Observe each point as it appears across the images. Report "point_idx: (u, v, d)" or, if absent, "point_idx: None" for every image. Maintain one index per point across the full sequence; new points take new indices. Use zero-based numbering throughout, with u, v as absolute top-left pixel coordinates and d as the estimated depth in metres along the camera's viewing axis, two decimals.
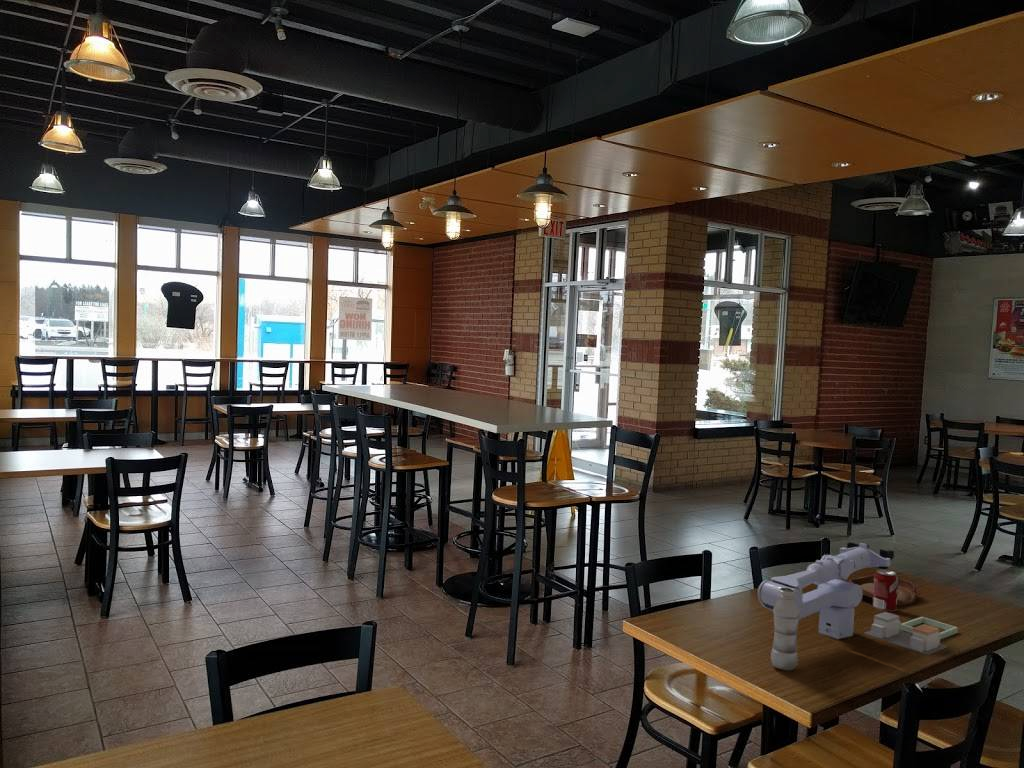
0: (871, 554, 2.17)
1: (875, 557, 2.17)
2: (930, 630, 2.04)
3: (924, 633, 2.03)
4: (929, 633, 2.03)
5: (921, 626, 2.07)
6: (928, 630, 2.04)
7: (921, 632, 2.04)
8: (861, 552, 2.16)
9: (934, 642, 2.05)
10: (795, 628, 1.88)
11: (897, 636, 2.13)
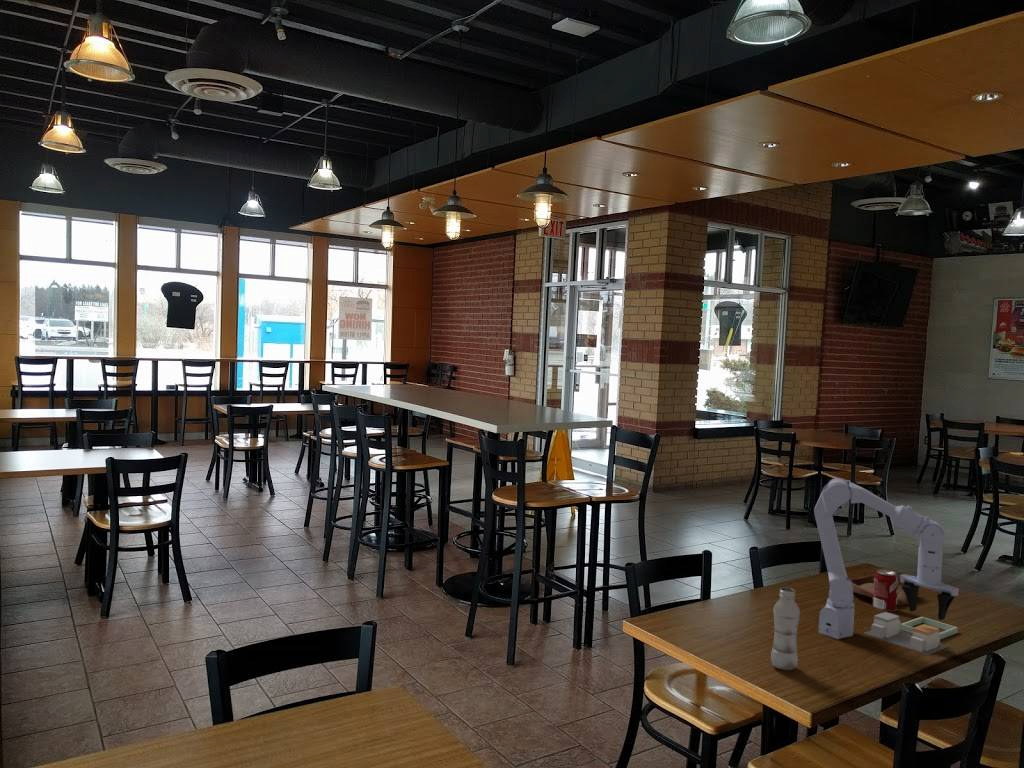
0: (941, 583, 2.04)
1: (943, 586, 2.03)
2: (930, 630, 2.04)
3: (924, 633, 2.03)
4: (929, 633, 2.03)
5: (921, 626, 2.07)
6: (928, 630, 2.04)
7: (921, 632, 2.04)
8: None
9: (934, 642, 2.05)
10: (795, 628, 1.88)
11: (897, 636, 2.13)
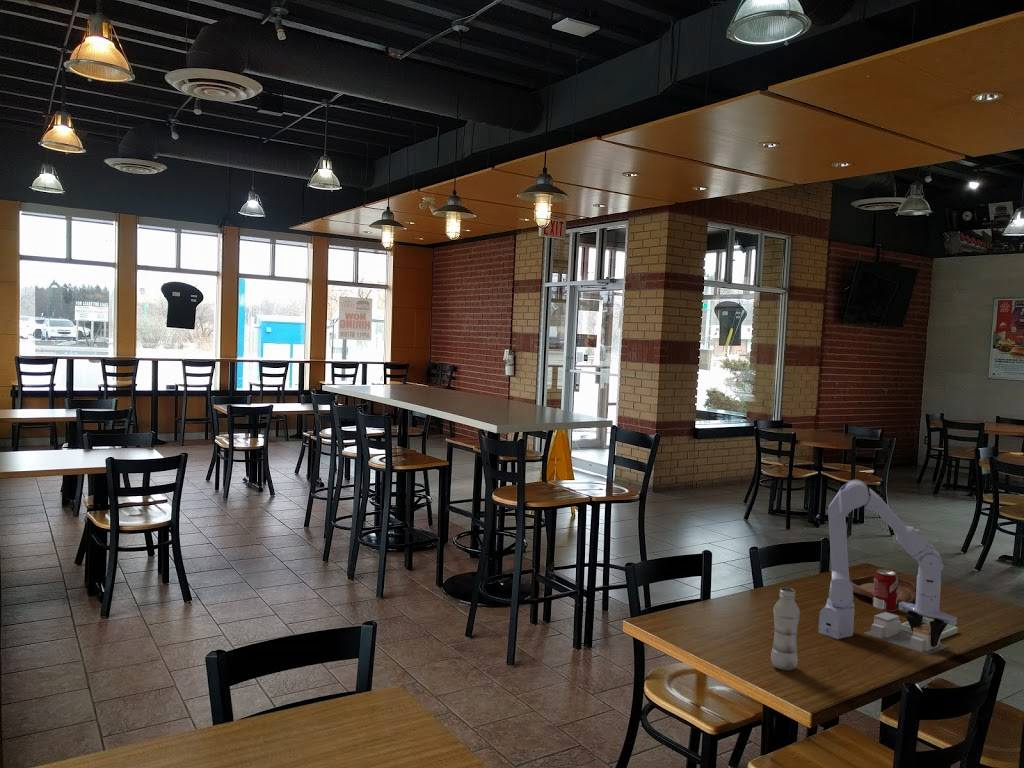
0: (939, 612, 2.04)
1: None
2: (930, 630, 2.04)
3: (924, 633, 2.03)
4: (929, 633, 2.03)
5: (921, 626, 2.07)
6: (928, 630, 2.04)
7: (921, 632, 2.04)
8: None
9: None
10: (795, 628, 1.88)
11: (897, 636, 2.13)
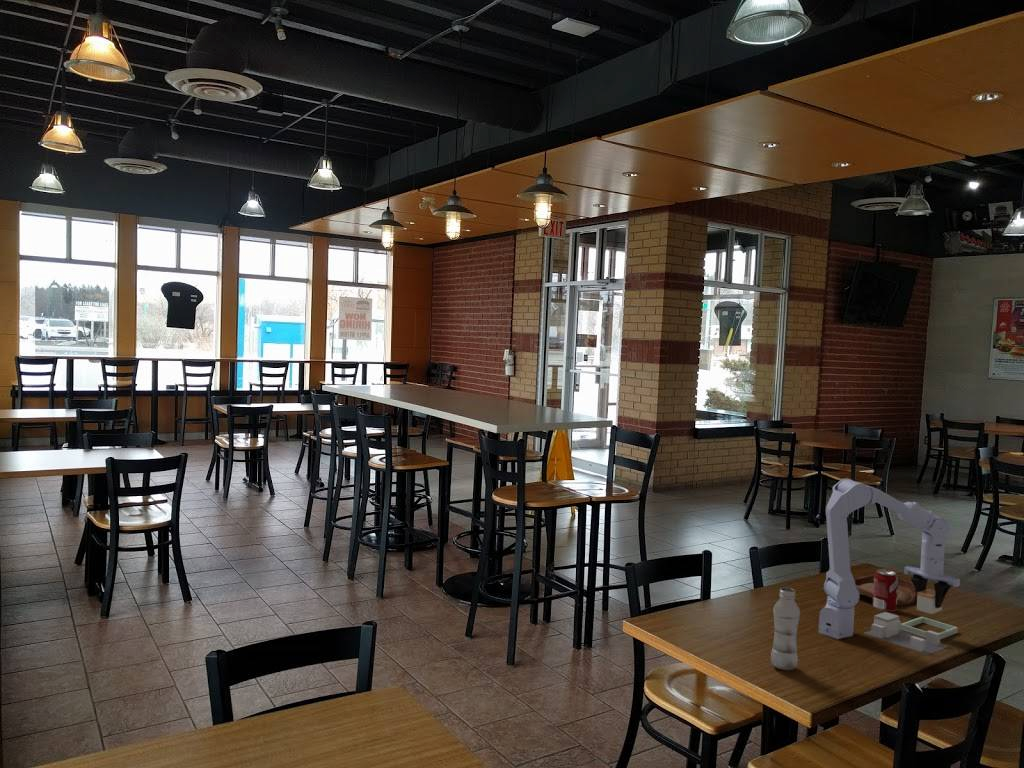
0: (943, 575, 2.13)
1: None
2: (934, 594, 2.13)
3: (928, 597, 2.12)
4: (933, 597, 2.12)
5: (925, 591, 2.16)
6: (932, 594, 2.13)
7: (925, 596, 2.13)
8: None
9: None
10: (795, 628, 1.88)
11: (897, 636, 2.13)
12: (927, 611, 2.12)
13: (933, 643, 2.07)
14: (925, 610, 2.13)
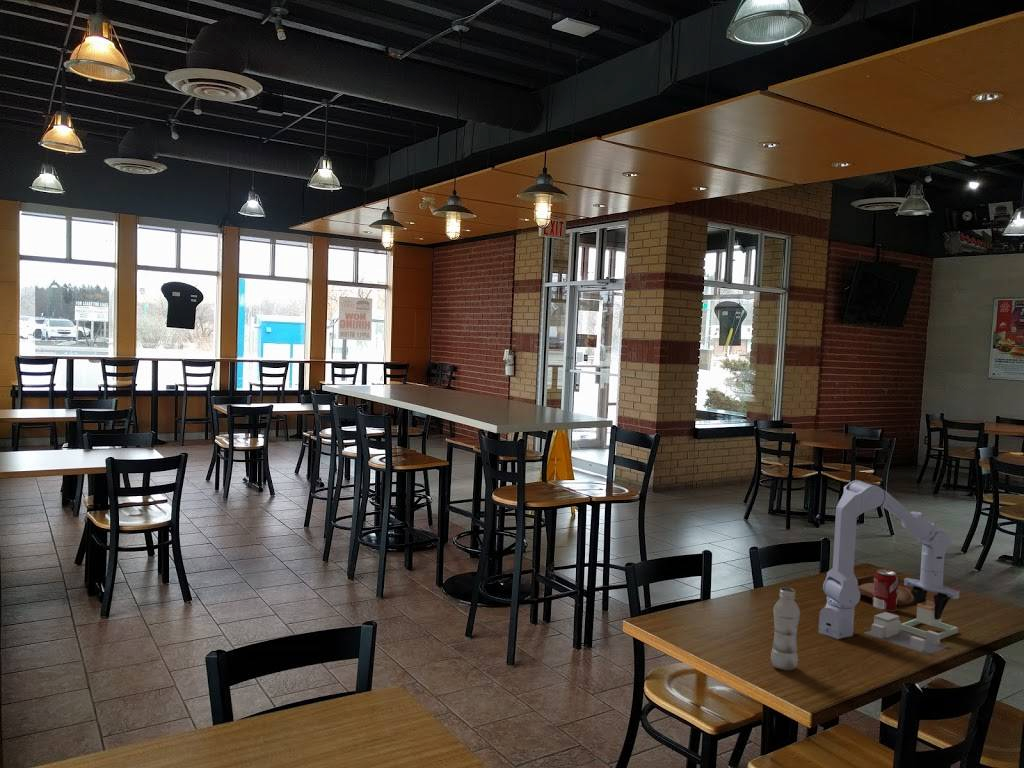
0: (943, 586, 2.16)
1: None
2: (933, 606, 2.16)
3: (927, 609, 2.15)
4: (932, 608, 2.15)
5: (925, 602, 2.19)
6: (931, 606, 2.16)
7: (925, 608, 2.15)
8: None
9: None
10: (795, 628, 1.88)
11: (897, 636, 2.13)
12: (927, 623, 2.15)
13: (933, 643, 2.07)
14: (924, 621, 2.16)
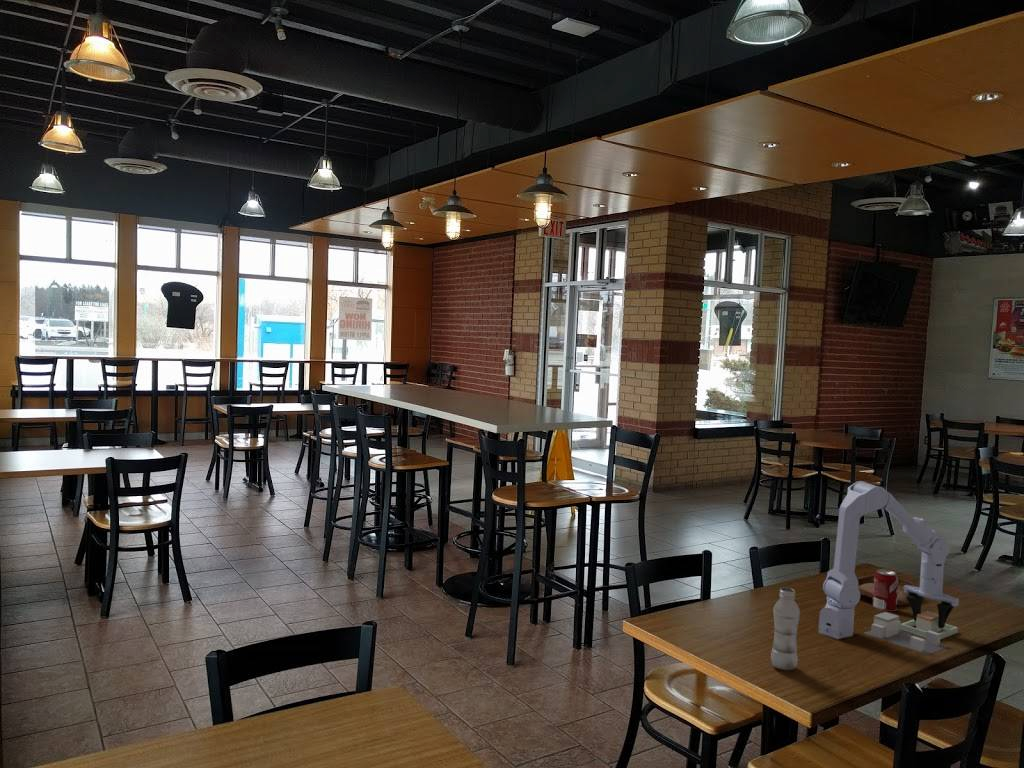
0: (942, 594, 2.16)
1: None
2: (933, 616, 2.16)
3: (927, 619, 2.15)
4: (932, 619, 2.15)
5: (924, 613, 2.19)
6: (931, 616, 2.16)
7: (924, 618, 2.16)
8: None
9: (937, 628, 2.17)
10: (795, 628, 1.88)
11: (897, 636, 2.13)
12: None
13: (933, 643, 2.07)
14: None
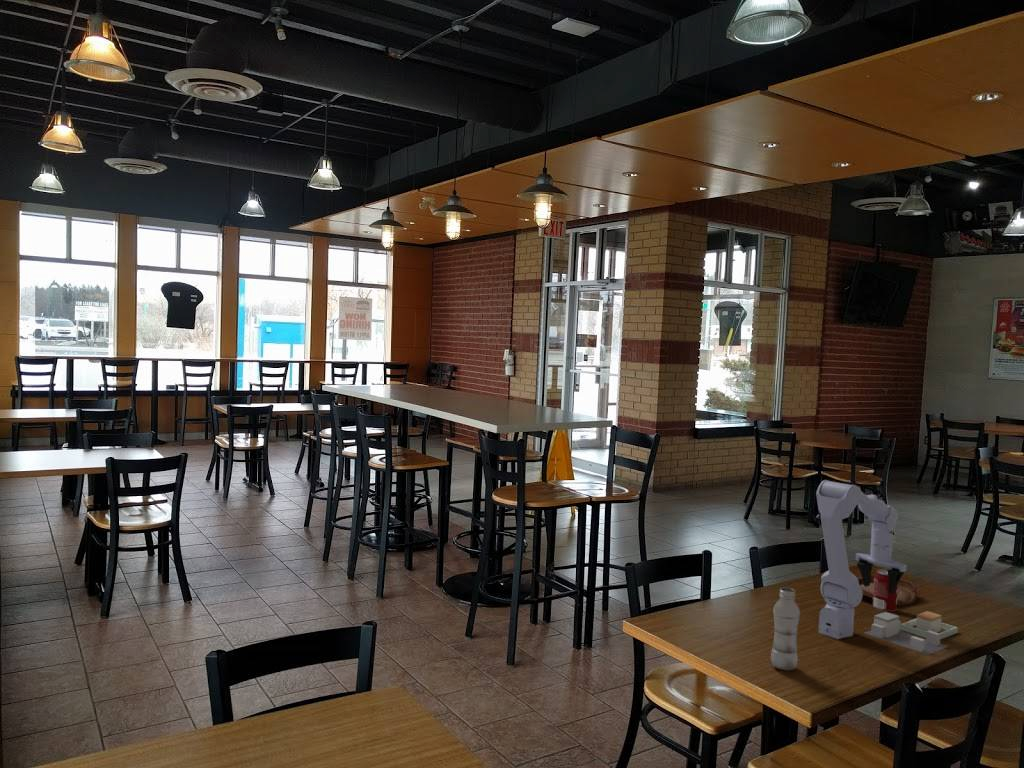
0: (892, 560, 2.24)
1: None
2: (933, 616, 2.16)
3: (927, 619, 2.15)
4: (932, 619, 2.15)
5: (924, 613, 2.19)
6: (931, 616, 2.16)
7: (924, 618, 2.16)
8: None
9: (937, 628, 2.17)
10: (795, 628, 1.88)
11: (897, 636, 2.13)
12: None
13: (933, 643, 2.07)
14: None
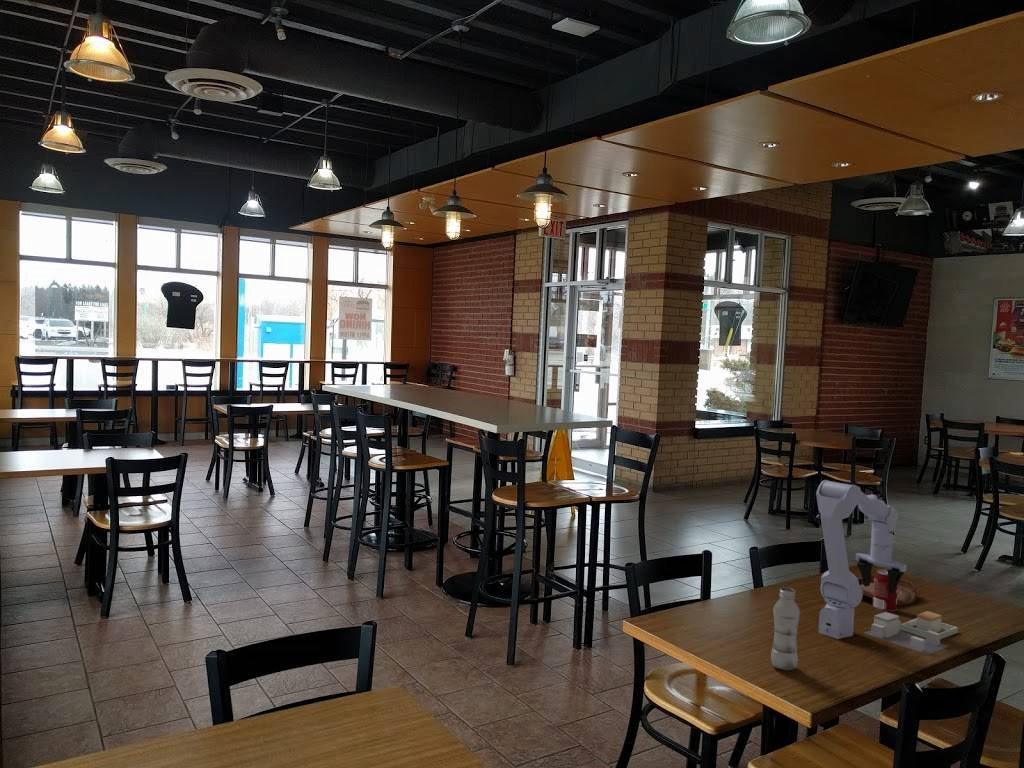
0: (892, 560, 2.24)
1: None
2: (933, 616, 2.16)
3: (927, 619, 2.15)
4: (932, 619, 2.15)
5: (924, 613, 2.19)
6: (931, 616, 2.16)
7: (924, 618, 2.16)
8: None
9: (937, 628, 2.17)
10: (795, 628, 1.88)
11: (897, 636, 2.13)
12: None
13: (933, 643, 2.07)
14: None
